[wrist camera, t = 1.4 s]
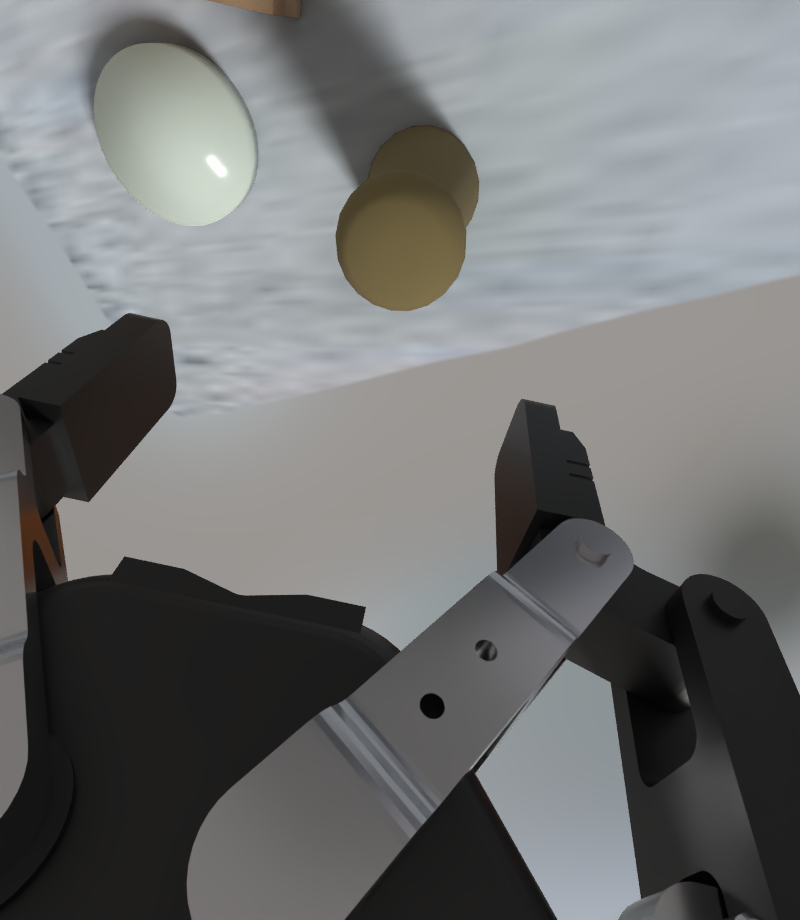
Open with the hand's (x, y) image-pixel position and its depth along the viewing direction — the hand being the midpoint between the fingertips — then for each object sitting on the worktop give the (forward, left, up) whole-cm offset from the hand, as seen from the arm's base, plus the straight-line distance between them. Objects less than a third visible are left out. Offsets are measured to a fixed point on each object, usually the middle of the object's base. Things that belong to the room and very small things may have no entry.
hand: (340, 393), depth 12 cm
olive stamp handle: (0, 0, -21) cm, 21 cm away
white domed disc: (+13, 0, -21) cm, 25 cm away
